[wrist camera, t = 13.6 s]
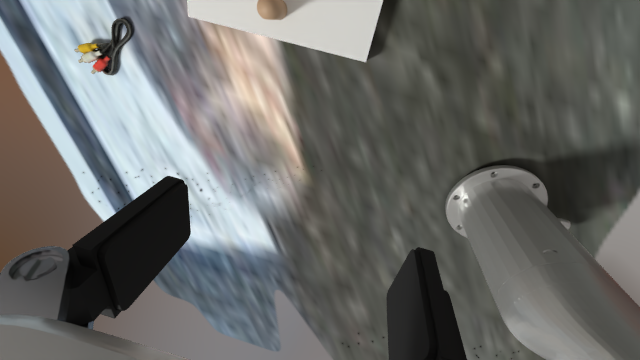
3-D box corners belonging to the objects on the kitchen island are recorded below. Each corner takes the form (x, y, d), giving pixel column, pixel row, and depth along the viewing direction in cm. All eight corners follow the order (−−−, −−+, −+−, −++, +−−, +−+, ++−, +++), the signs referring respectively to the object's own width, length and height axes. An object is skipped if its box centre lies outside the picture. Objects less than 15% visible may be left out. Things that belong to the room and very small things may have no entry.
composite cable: (125, 13, 35) (109, 12, 33) (150, 48, 37) (136, 50, 35) (84, 49, 39) (67, 51, 37) (108, 80, 41) (94, 83, 39)
